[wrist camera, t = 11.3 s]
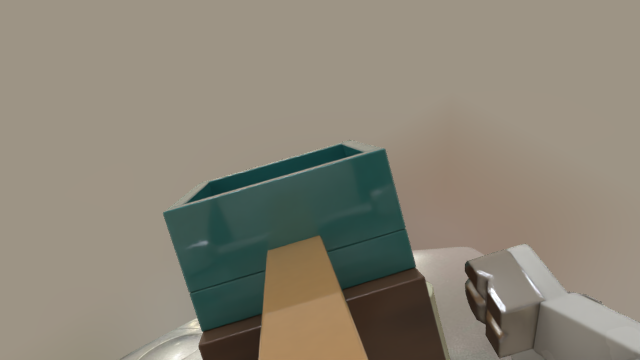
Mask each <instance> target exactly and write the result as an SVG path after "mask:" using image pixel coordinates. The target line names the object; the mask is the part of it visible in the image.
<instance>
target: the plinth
mask: <svg viewBox="0 0 640 360" xmlns="http://www.w3.org/2000/svg"><path fill="white" fill-rule="evenodd" d="M342 291H343V294H344V296H345V299H346V301H347V304H348V306H349V309H350V312H351V314H352V317H353V319H354V322H355V325H356V327H357V330H358V332H359V335H360V338H361V340H362V343H363V345H364V348H365V351H366V353H367V356H368V358H369V360H446V358H445V354H444V350H443V346H442V342H441V338H440V335H439V331H438V327H437V323H436V319H435V315H434V311H433V307H432V304H431V300H430V296H429V292H428V288H427V284H426V280H425V277H424V276H423V275H422V274H421V273H420V272H419V271H418V270H417V269H416V268H412V269H408V270H405V271H402V272H398V273H395V274H392V275H389V276H385V277H382V278H379V279H375V280H372V281H369V282H365V283H362V284H359V285H356V286H352V287H349V288H346V289H342ZM261 320H262V314H260V315H257V316H253V317H250V318H247V319H243V320H240V321H237V322H234V323H230V324H227V325H224V326H220V327H217V328H214V329H210V330H207V331H204V332H203V334H202V337H201V340H200V343H199V350H200V353H201V356H202V359H203V360H258V357H259V345H260V332H261Z"/></svg>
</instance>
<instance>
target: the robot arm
mask: <svg viewBox="0 0 640 360" xmlns="http://www.w3.org/2000/svg"><path fill="white" fill-rule="evenodd" d="M465 272H466V274H467V276H468V277H469V279H468V280H467V281H466V283H465V292H466V296H467V300H468V303H469V305H470V308H471V310H472V312H473V314H474V315H475V317H476V319H477V320H478V321H480V322H482V323H484V324H486V336H487V338H488V340H489V342H490V343H491V345H492V347H493V348H494V350H495V352H496V353H497V355H498V357H499V358H502V357H506V356H510V355H513V354H517V353H520V352H524V351H527V350H531V349H534V350H533V351H535V352H536V353H538V354H539V355H541V356H542V357H544V358H545V359H547V360H640V322H638V321H636V320H634V319H631V318H629V317H627V316H625V315H623V314H621V313H619V312H616V311H614V310H612V309H610V308H608V307H606V306H603V305H601V304H599V303H597V302H595V301H593V300H590V299H588V298H586V297H584V296H582V295H580V294H578V293H575V292H573V293H569V294H568V292H567V291H566V290H565V289H564V288H563V286H562V285H561V284H560V283H559V281H558V280H557V279H556V278H555V276H554V275H553V274H552V273H551V272H550V270H549V269H548V268H547V267H546V265H545V264H544V263H543V262H542V261H541V259H540V258H539V257H538V256H537V254H536V253H535V252H534V251H533V249H532V248H531V247H530V246H529V245H527V244H522V245H519V246H515V247H512V248H509V249H506V250H501V251H497V252H494V253H491V254H488V255H485V256H482V257H479V258H475V259H472V260H469V261H467V262H466V264H465Z"/></svg>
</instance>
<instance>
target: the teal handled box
mask: <svg viewBox="0 0 640 360" xmlns="http://www.w3.org/2000/svg"><path fill="white" fill-rule="evenodd" d="M163 216H164V219H165V221H166V224H167V227H168V230H169V233H170V237H171V240H172V243H173V245H174V249H175V252H176V255H177V257H178V260H179V264H180V266H181V270H182V273H183V276H184V278H185V281H186V285H187V287H188V291H189V292H190V297H191V300H192V303H193V306H194V309H195V312H196V315H197V318H198V321H199V324H200V327H201V330H202V332H204V331H207V330H210V329H214V328H217V327H220V326H224V325H227V324H230V323H234V322H237V321H240V320H243V319H247V318H250V317H253V316H257V315H260V314H262V320H261V332H260V345H259V357H258V360H369V358H368V356H367V353H366V351H365V348H364V345H363V343H362V340H361V338H360V335H359V332H358V330H357V327H356V325H355V322H354V319H353V317H352V314H351V312H350V309H349V306H348V304H347V301H346V299H345V296H344V294H343V291H342V289H346V288H349V287H352V286H356V285H359V284H362V283H365V282H369V281H372V280H375V279H379V278H382V277H385V276H389V275H392V274H395V273H398V272H402V271H405V270H408V269H412V268H415V267H416V265H415V261H414V257H413V253H412V249H411V245H410V241H409V238H408V234H407V230H406V229H405V227H406V226H405V222H404V219H403V215H402V211H401V207H400V204H399V200H398V196H397V192H396V188H395V184H394V180H393V176H392V173H391V169H390V165H389V161H388V157H387V153H386V150H385V149H384V148H380V147H376V146H371V145H368V144H363V143H360V142H356V141H351V140H349V141H345V142H342V143H338V144H335V145H331V146H328V147H324V148H321V149H317V150H314V151H311V152H307V153H303V154H300V155H296V156H293V157H290V158H286V159H282V160H279V161H276V162H272V163H269V164H265V165H262V166H258V167H255V168H251V169H248V170H245V171H241V172H237V173H234V174H231V175H227V176H223V177H220V178H216V179H213V180H210V181H206V182H202V183H200V184H199V185H197V186H196V187H195V188H194V189H192V190H191V191H190V192H189V193H187V194H186V195H185V196H183V197H182V198H181V199H180V200H178V201H177V202H176V203H175V204H174V205H172V206H171V207H169V208H168V209H167V210H166V211H165V212H163Z"/></svg>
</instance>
